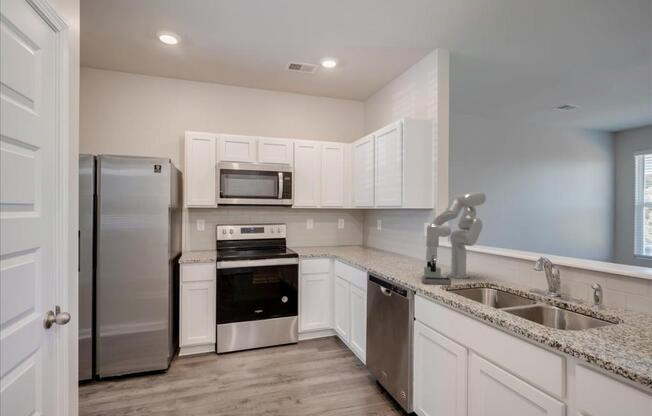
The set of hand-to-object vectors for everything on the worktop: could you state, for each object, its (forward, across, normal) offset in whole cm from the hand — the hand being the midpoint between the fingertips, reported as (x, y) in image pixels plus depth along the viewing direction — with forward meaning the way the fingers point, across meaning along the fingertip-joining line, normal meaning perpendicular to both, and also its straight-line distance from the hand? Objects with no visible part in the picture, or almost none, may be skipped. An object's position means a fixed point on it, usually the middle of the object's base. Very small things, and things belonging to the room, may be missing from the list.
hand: (431, 270), depth 213 cm
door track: (+6, +10, +1) cm, 12 cm away
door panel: (+6, -1, +1) cm, 6 cm away
